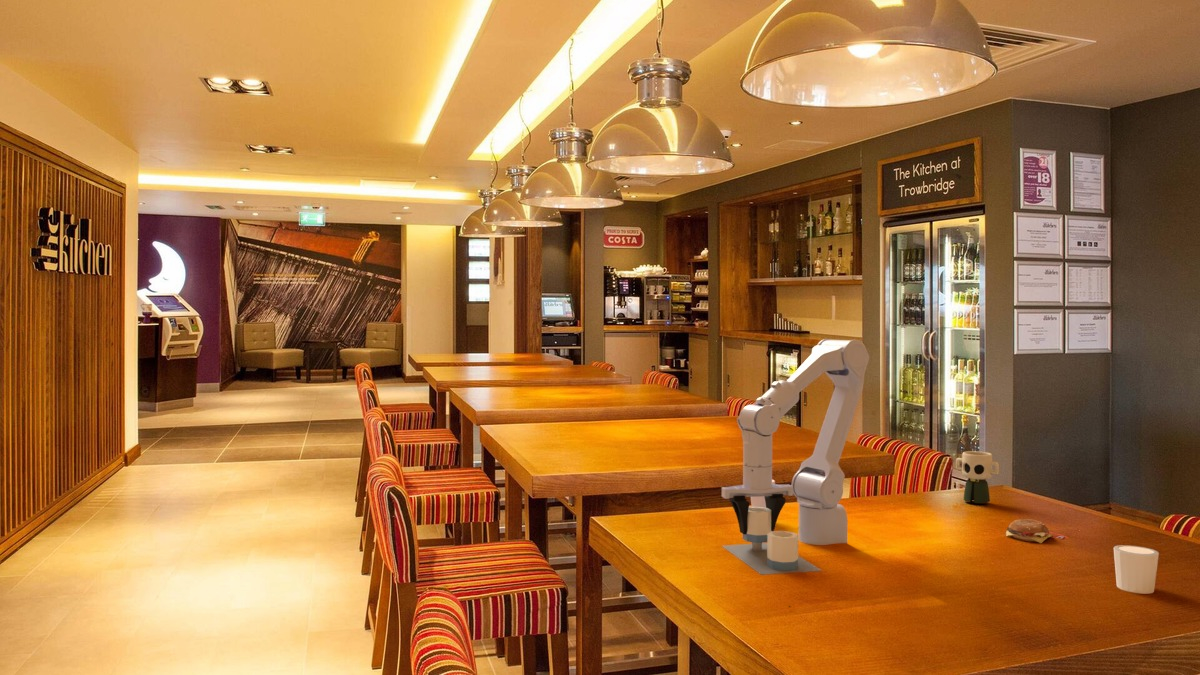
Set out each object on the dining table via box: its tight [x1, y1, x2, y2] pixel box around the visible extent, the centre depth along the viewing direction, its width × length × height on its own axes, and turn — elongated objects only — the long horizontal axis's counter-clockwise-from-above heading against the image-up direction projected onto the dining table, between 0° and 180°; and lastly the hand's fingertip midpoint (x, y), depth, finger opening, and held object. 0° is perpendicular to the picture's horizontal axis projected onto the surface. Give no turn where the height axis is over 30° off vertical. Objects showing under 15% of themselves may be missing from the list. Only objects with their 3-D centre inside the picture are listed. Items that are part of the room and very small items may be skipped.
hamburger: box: [1005, 518, 1069, 544], centre depth 188 cm, size 14×14×6 cm
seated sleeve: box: [766, 530, 799, 571], centre depth 161 cm, size 5×5×6 cm
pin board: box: [721, 542, 823, 576], centre depth 166 cm, size 12×20×6 cm, turn 13°
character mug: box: [955, 450, 1000, 505], centre depth 223 cm, size 11×7×13 cm, turn 46°
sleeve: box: [742, 506, 772, 543], centre depth 172 cm, size 5×5×6 cm
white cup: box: [1113, 544, 1160, 595], centre depth 153 cm, size 7×7×7 cm
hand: (757, 532), depth 172 cm, fingers closed on sleeve, 5 cm apart
